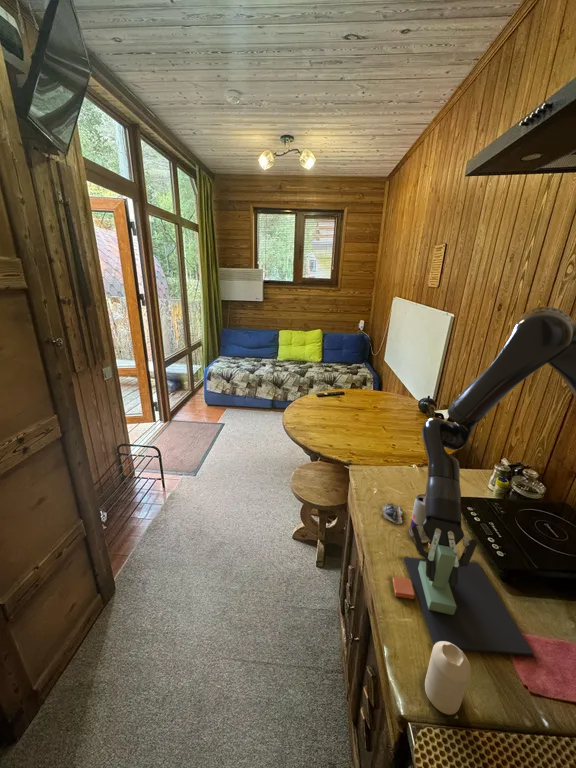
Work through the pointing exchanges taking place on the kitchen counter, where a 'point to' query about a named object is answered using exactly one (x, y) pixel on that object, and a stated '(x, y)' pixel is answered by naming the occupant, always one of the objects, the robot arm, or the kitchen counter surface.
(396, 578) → the orange square tile
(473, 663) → the kitchen counter surface
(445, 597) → the green inverted t block
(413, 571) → the mat
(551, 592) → the kitchen counter surface
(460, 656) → the candle
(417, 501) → the energy drink
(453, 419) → the robot arm
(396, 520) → the oyster shell
